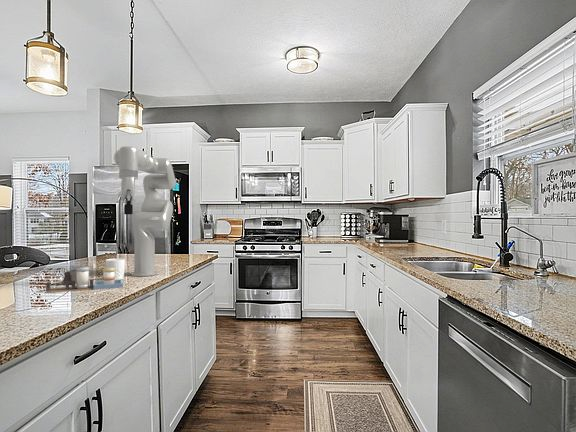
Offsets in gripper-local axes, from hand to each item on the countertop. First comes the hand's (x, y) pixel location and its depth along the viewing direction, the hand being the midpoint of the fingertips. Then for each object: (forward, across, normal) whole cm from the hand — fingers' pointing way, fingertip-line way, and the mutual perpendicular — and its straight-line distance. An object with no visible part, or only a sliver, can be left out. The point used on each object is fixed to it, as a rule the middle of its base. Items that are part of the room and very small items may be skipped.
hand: (128, 214), depth 151 cm
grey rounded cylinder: (+29, +12, -16) cm, 35 cm away
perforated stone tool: (+31, -4, -20) cm, 37 cm away
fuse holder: (+30, +12, -20) cm, 38 cm away
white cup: (+31, -7, -5) cm, 32 cm away
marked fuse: (+30, +12, -7) cm, 33 cm away
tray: (+30, +12, -7) cm, 33 cm away
